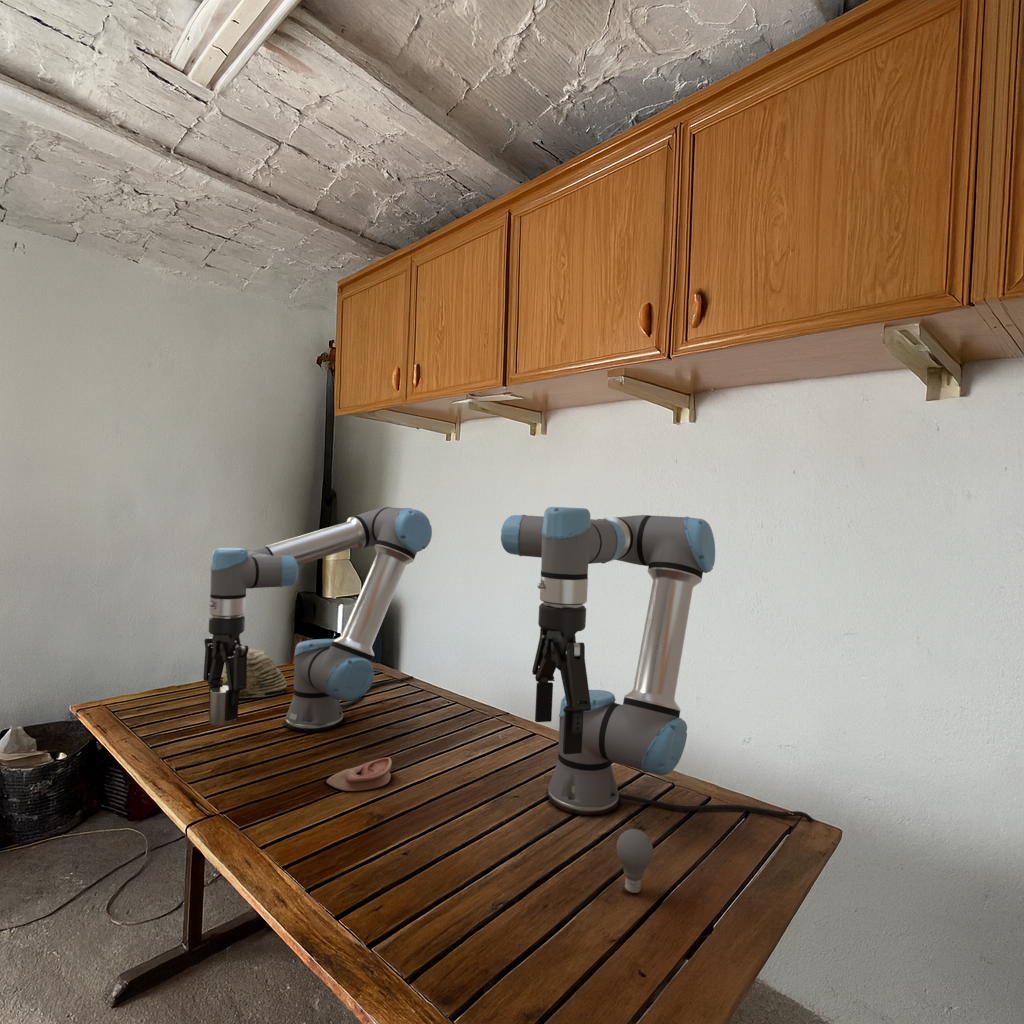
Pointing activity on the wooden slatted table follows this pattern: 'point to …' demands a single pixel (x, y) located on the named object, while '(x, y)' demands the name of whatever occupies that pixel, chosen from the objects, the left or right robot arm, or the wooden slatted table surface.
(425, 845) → the wooden slatted table surface
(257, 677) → the fossil
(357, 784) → the anatomical model
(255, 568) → the left robot arm
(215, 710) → the canister
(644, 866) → the light bulb
